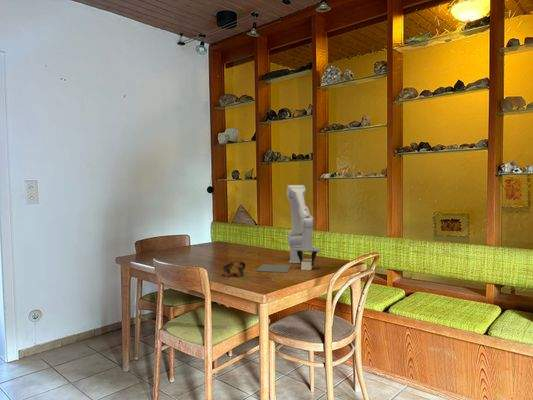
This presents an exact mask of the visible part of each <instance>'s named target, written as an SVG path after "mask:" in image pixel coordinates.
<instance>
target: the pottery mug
mask: <svg viewBox="0 0 533 400" xmlns="http://www.w3.org/2000/svg"><path fill="white" fill-rule="evenodd" d="M233 267H235V268H236V269H237V270H238V271H237V272H236V273H235V274H236V278H239V277H242V276H243V275H244V270H245V269H246V263H245V262H244V261H240V262H237V261H236V260H232V261H231V262H229V263H227V264H226V265H224V266H223V267H222V269H223V273H225V272H226V273H227V274H230V273H231V270H233Z"/></svg>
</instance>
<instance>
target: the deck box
mask: <svg viewBox="0 0 533 400" xmlns="http://www.w3.org/2000/svg"><path fill="white" fill-rule="evenodd" d="M300 266H301V267H300V269H301V270H302V271H312V268H313V267H314V265H313V266H312V258H303V260H302V262H301V263H300Z"/></svg>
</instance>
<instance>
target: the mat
mask: <svg viewBox="0 0 533 400" xmlns="http://www.w3.org/2000/svg"><path fill="white" fill-rule="evenodd" d="M292 267H293V266H292V265H290V264H267V263H262V264H261V266H259V267H258V268H257V269H256V270H255V272H262V273H263V272H264V273H281V274H286V273H288V271H290V269H291V268H292Z"/></svg>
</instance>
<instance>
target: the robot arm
mask: <svg viewBox="0 0 533 400" xmlns="http://www.w3.org/2000/svg"><path fill="white" fill-rule="evenodd" d="M306 191H307V189H306V187H305V185H304V184H291V185H290V184H287V186H286V198H287V201H289V205H290V206H289V207H290V218H291V221H290V222H291V223H290V224H291V229H290V230H289V231H288V232H287V235H286V236H287V237H286V238H287V239H286V242H287V245H288V246H289V247H290V248H289V255H290V256H289V260H288V263H289V264H291V263H293V264H301V262H302V260H303V259H304V258H303V257H304V253H311V259H312V266H313V267H314V262H315V259H316V256H317V254H318V253H319V254H320V253H322V249H321V248H318V247H313V242H314V241H313V237H314V236H313V233H314V232H313V230H314V227H315V219H314V217H313V215H311V213H310V209H309V207H308V206H307V205H306V201H305V195H306Z"/></svg>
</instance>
